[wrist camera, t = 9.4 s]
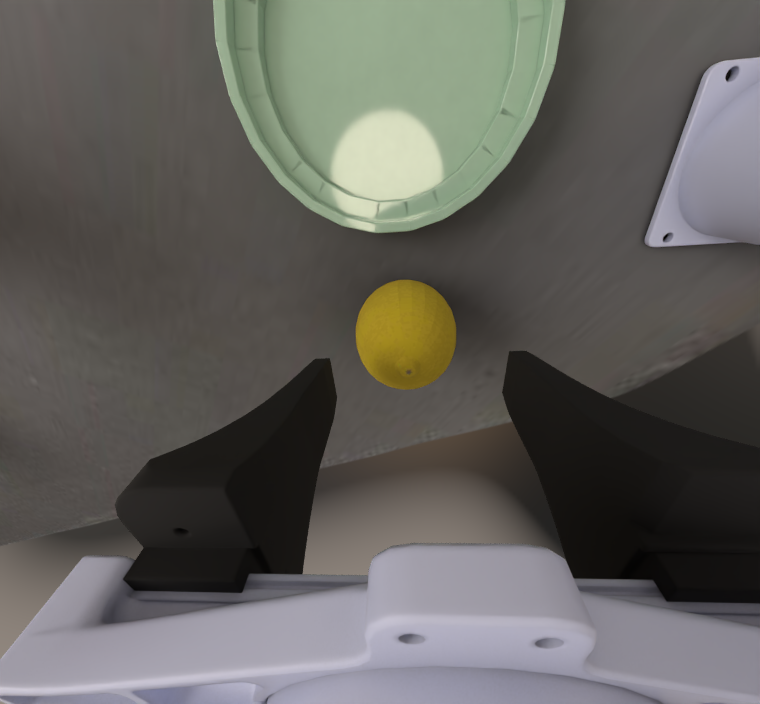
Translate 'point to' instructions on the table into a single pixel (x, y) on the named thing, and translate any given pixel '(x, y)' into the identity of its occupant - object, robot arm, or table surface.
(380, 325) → the lemon
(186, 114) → the table surface
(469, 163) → the plate
